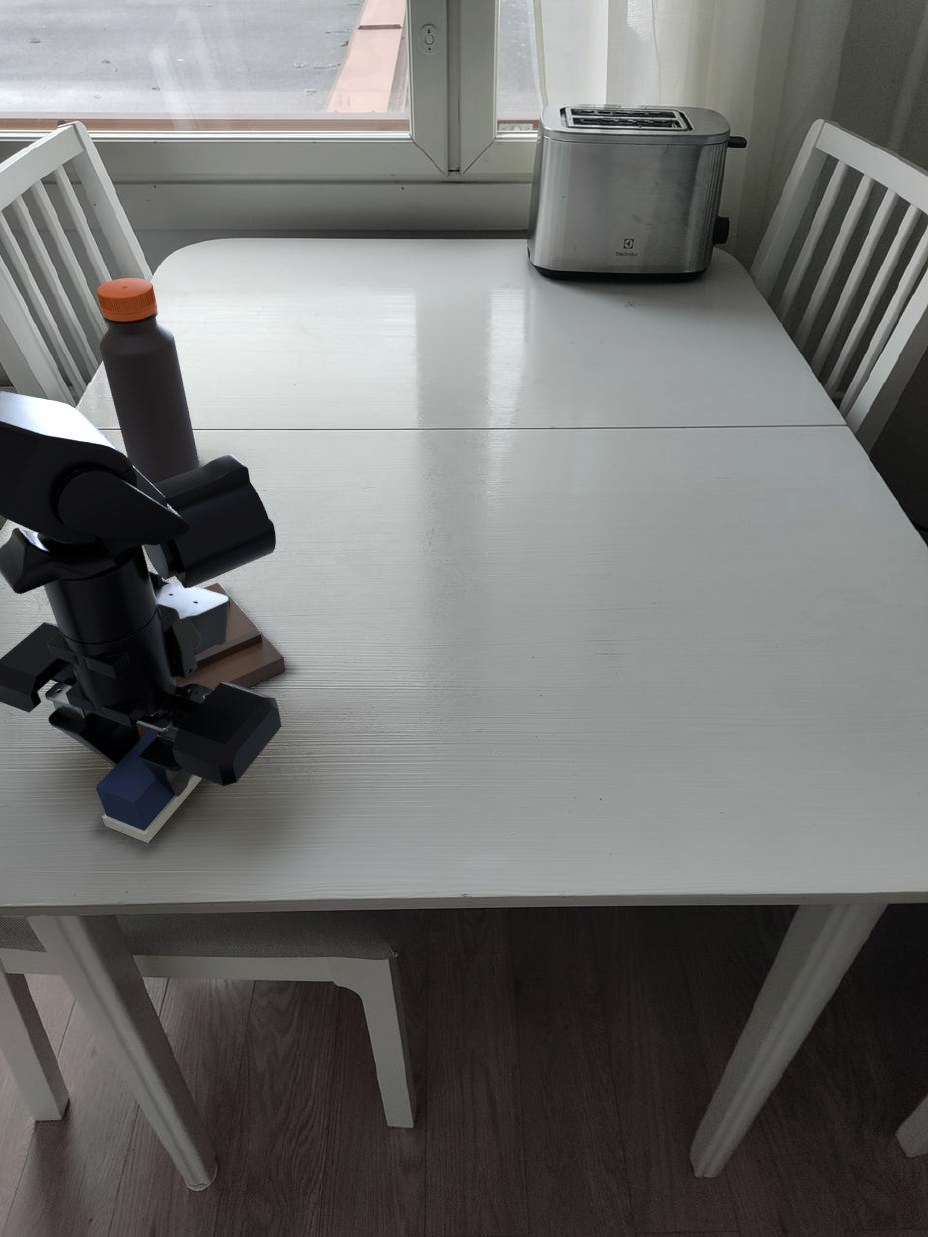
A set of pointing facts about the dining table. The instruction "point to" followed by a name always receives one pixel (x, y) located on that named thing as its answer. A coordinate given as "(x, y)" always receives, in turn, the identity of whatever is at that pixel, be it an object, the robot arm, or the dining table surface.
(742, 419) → the dining table surface
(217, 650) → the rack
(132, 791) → the stepped navy block
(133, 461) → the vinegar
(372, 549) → the dining table surface
